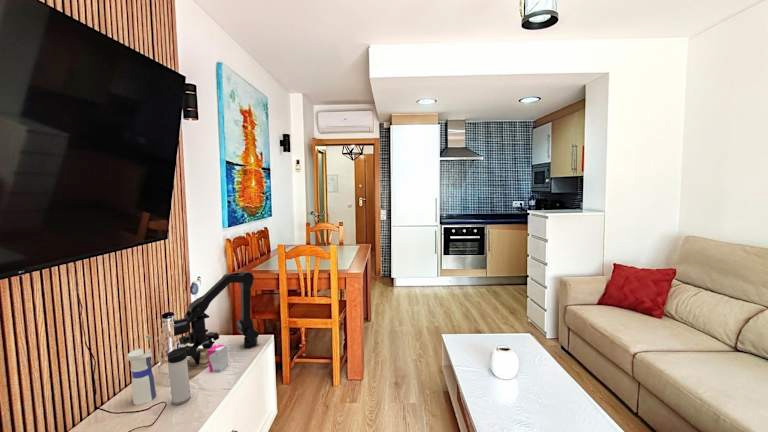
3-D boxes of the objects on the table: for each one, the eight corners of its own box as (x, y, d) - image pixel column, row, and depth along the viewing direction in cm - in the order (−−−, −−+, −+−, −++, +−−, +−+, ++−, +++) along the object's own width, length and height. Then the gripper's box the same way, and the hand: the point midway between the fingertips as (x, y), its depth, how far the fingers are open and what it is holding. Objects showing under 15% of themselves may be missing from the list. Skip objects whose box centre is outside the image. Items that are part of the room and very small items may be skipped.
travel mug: (195, 396, 138) (190, 347, 136) (180, 406, 132) (175, 355, 130) (183, 393, 140) (178, 345, 138) (168, 403, 134) (163, 353, 132)
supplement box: (229, 368, 158) (227, 344, 157) (221, 375, 153) (219, 350, 152) (217, 368, 159) (214, 344, 158) (209, 375, 153) (207, 350, 152)
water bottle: (140, 393, 142) (133, 333, 139) (161, 391, 142) (155, 332, 140) (126, 405, 134) (119, 343, 131) (149, 404, 134) (142, 341, 132)
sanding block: (198, 357, 166) (197, 347, 166) (212, 359, 164) (211, 349, 164) (190, 363, 161) (189, 352, 161) (204, 364, 159) (204, 354, 159)
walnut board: (201, 355, 172) (200, 352, 171) (225, 358, 168) (225, 355, 168) (162, 380, 150) (162, 377, 150) (189, 383, 147) (189, 380, 147)
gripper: (199, 320, 172) (202, 350, 174) (167, 336, 154) (171, 370, 156) (218, 321, 170) (221, 352, 171) (188, 338, 152) (191, 372, 153)
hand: (201, 361), depth 163 cm, fingers closed on sanding block, 5 cm apart
